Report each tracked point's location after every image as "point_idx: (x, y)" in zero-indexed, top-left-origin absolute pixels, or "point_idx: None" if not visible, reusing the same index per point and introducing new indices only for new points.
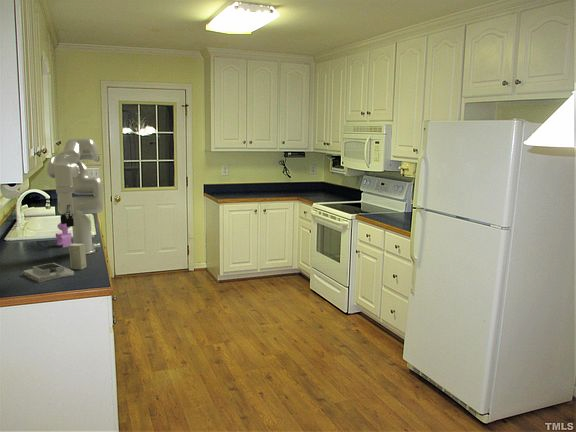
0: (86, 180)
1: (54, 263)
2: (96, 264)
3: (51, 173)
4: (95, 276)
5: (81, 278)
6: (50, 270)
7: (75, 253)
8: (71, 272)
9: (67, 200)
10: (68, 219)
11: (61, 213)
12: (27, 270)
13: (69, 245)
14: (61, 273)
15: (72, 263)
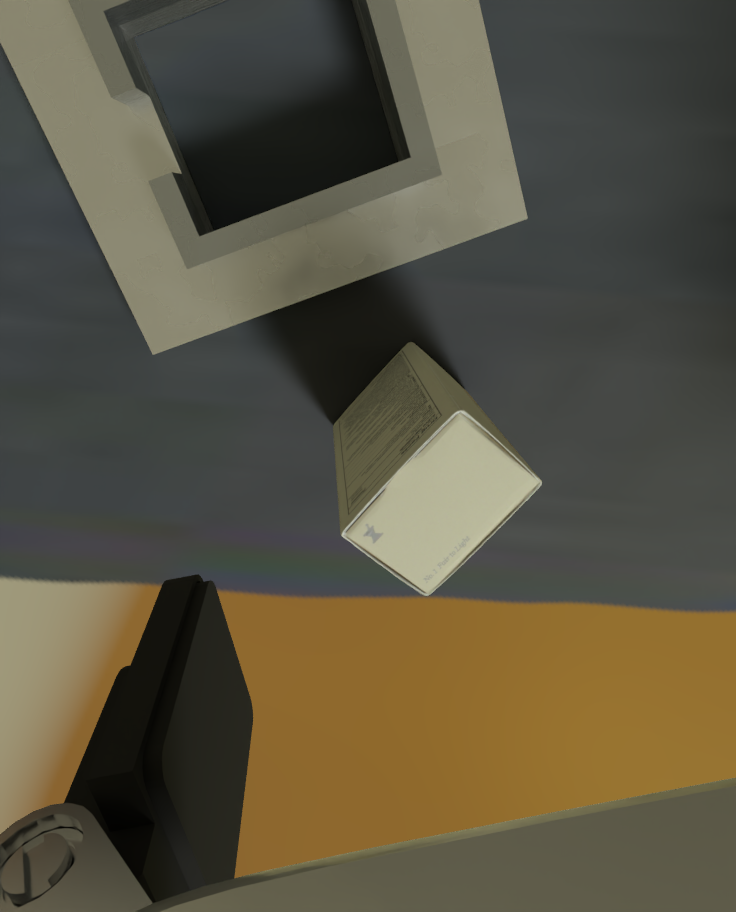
0: None
1: (394, 179)
2: None
3: None
4: (36, 505)
5: (6, 394)
6: (391, 131)
7: (376, 441)
8: (143, 329)
9: None
10: (59, 815)
11: (362, 864)
12: None
13: (446, 417)
14: (93, 228)
15: (400, 369)
